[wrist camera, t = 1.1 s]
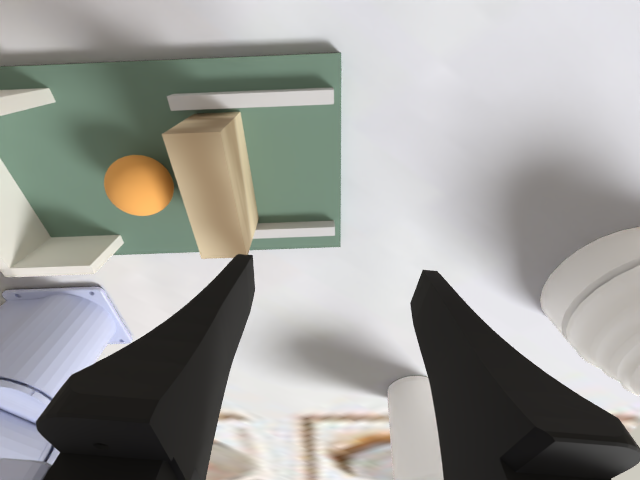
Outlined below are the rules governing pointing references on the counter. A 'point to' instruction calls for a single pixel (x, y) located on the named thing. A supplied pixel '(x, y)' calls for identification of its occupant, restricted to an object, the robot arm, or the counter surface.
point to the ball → (138, 185)
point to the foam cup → (413, 430)
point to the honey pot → (601, 305)
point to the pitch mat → (146, 139)
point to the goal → (26, 228)
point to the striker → (215, 181)
